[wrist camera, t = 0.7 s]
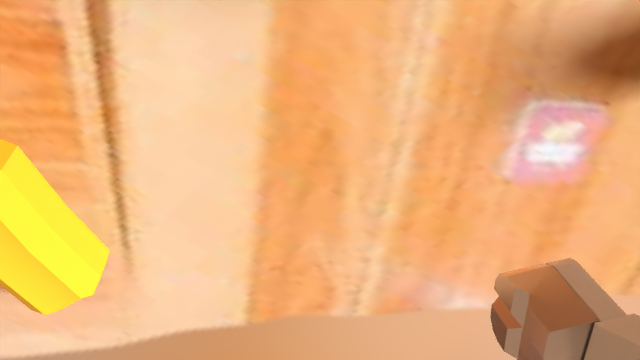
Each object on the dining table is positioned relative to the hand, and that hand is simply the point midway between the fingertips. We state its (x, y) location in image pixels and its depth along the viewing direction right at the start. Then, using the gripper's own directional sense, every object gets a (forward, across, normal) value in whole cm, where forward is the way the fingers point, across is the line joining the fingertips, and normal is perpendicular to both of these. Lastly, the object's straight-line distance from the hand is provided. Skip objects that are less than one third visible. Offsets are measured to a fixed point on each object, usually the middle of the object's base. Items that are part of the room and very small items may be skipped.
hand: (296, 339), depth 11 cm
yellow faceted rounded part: (+36, +18, +19) cm, 45 cm away
